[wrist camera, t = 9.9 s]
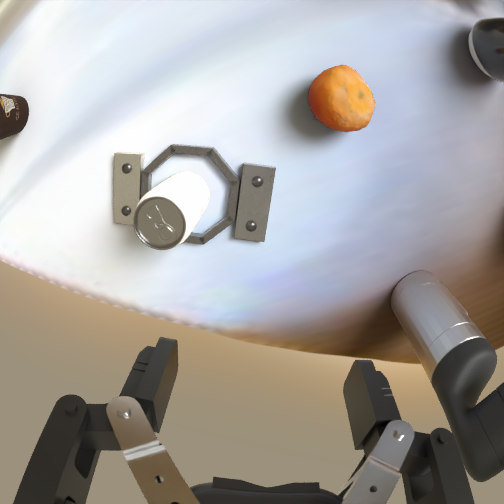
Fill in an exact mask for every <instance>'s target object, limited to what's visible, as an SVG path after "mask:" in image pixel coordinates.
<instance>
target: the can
mask: <svg viewBox="0 0 504 504" xmlns="http://www.w3.org/2000/svg"><path fill="white" fill-rule="evenodd" d="M208 202H209V189H208V187H207V184H206V183H205V181H204V180H203V179H202V178H201V177H200V176H198V175H196V174H194V173H191V172H179V173H176V174H174V175H172V176H171V177H169V178H168V179H166V180H165V181H163V182H162V183H160V184H159V185H157V186H156V187H154V188H153V189H152V190H150V191H149V192H148V193H146V194H145V195H144V196H143V197H142V198H141V199H140V201H139V203H138V205H137V207H136V210H135V212H134V216H133V225H134V229H135V232H136V234H137V236H138V237H139V239H140V240H141V241H142V242H143V243H144V244H146V245H147V246H149V247H151V248H153V249H157V250H167V249H171V248H173V247H175V246H177V245H179V244H181V243H182V242H184V241H185V240H186V239H187V238H188V236H189V235H190V234H191V232H192V230H193V229H194V227H195V225H196V224H197V222H198V221H199V219H200V217H201V216H202V214H203V212H204V211H205V209H206V207H207V205H208Z"/></svg>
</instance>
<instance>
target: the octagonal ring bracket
mask: <svg viewBox="0 0 504 504" xmlns="http://www.w3.org/2000/svg"><path fill="white" fill-rule="evenodd" d="M174 153H182V154H194V155H204V156H209V157H210V158H211V160H212V161H213V162H214V163H215V164H216V166H217V167H218V168H219V169H220V171H221V172H222V173H223V174H224V175H225V177H226V178H227V179H228V180H229V182H230V183H231V189H230V198H229V206H228V215H227V216H226V217H225V218H223V219H222V220H221V221H219V222H218V223H217V224H215V225H214V226H213V227H211V228H210V229H209V230H207V231H206V232H205V233H203V234H200V233H192V232H191V234H190V235H189V236H188V238H187V239H186V240H185V241H184V242H190V243H198V244H205V243H206V242H208V241H209V240H210V239H212V238H213V237H214V236H216V235H217V234H218V233H220V232H221V231H222V230H224V229H225V228H226V227H228V226H229V225H230V224H232V223H233V222H235V217H236V209H237V200H238V192H239V184H240V179H239V178H238V176H237V175H236V174H235V173H234V171H233V170H232V169H231V168H230V167H229V165H228V164H227V163H226V162H225V160H224V159H223V158H222V157H221V155H220V154H219V153H218V152H217V151H216V149H215V148H213V147H203V146H191V145H179V144H172V145H170V146H169V147H168V148H167V149H166V150H165V151H164V152H163V153H161V154H160V155H159V156H158V157H157V158H156V159H155V160H154V161H153V162H152V163H151V164H150V165H148V166H147V167H146V168H145V169H144V153H128V152H117V153H115V156H114V223H121V224H129V225H133V216H134V212H135V210H136V207H137V205H138V203H139V201H140V199H141V198H142V197H143V196H144V195H145V194H146V193H148V192H149V191H150V190H151V179H152V173H153V172H154V171H155V170H156V169H157V168H158V167H159V166H161V165H162V164H163V163H164V162H165V161H166V160H167V159H168V158H170V157H171V156H172V155H173V154H174ZM275 170H276V167H273V166H266V165H259V164H251V163H244V165H243V173H242V181H241V189H240V197H239V205H238V213H237V221H236V229H235V238H238V239H245V240H253V241H260V242H264V240H265V234H266V228H267V221H268V215H269V209H270V202H271V196H272V189H273V183H274V176H275Z"/></svg>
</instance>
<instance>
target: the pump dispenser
mask: <svg viewBox="0 0 504 504" xmlns="http://www.w3.org/2000/svg"><path fill="white" fill-rule="evenodd" d="M468 42H469V49H470V53H471V55H472V58H473V60H474V61H475V63H476V64H477V66H478V67H479V68H480V69H481V70H482V71H483V72H484V73H485V74H487V75H488V76H490V77H492V78H494V79H495V80H497V81H499V82H503V83H504V18H503V17H495V18H485V19H482V20H479V21H478V22H476V24H475V25H474V27H473V28H472V30H471V32H470V34H469V40H468Z"/></svg>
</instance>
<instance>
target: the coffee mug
mask: <svg viewBox="0 0 504 504" xmlns="http://www.w3.org/2000/svg"><path fill="white" fill-rule="evenodd" d="M28 116H29V107H28V103H27V101H26V100H25V98H23V97H21V96H14V95H6V94H0V140H1V139H3V138H6V137H8V136H11V135H13V134H16V133H18V132H20V131H21V130H22V129H23V128H24V127H25V125H26V123H27V120H28Z"/></svg>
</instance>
